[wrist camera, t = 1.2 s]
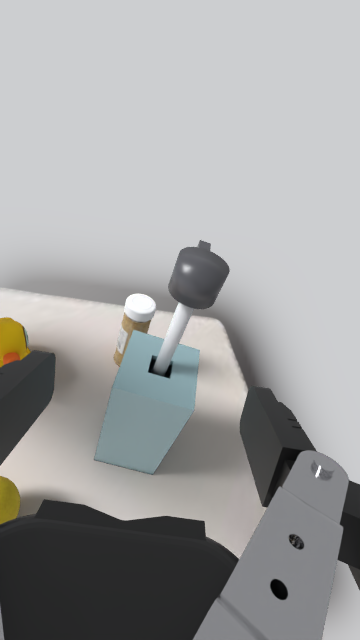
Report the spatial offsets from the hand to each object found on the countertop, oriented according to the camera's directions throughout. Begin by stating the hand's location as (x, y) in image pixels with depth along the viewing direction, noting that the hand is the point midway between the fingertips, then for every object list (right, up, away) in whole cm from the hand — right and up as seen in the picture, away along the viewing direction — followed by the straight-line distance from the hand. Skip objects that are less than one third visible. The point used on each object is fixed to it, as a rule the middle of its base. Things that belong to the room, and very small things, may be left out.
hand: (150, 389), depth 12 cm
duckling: (-24, -5, +31) cm, 40 cm away
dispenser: (-6, -14, +29) cm, 33 cm away
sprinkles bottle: (-8, -4, +39) cm, 40 cm away
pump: (-1, -2, +20) cm, 20 cm away
